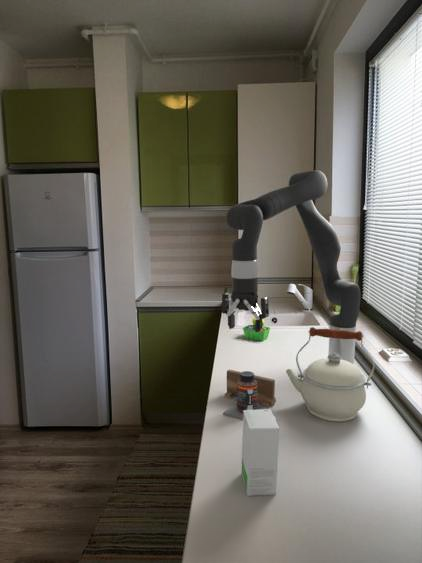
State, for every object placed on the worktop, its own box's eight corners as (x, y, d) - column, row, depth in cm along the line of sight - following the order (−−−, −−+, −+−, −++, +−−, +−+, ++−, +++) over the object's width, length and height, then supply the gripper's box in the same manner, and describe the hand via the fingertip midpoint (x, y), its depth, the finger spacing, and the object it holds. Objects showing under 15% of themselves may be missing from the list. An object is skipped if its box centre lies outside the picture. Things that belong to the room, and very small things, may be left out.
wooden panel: (232, 390, 140) (232, 367, 139) (277, 401, 132) (277, 377, 130) (223, 396, 135) (223, 373, 134) (269, 409, 127) (269, 384, 125)
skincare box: (241, 473, 96) (241, 408, 94) (269, 471, 97) (271, 407, 94) (247, 497, 88) (248, 428, 85) (278, 495, 89) (280, 426, 86)
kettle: (370, 402, 131) (375, 324, 127) (372, 431, 114) (377, 342, 110) (289, 391, 139) (291, 317, 135) (279, 417, 122) (281, 333, 118)
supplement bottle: (255, 415, 122) (256, 378, 120) (235, 413, 123) (235, 376, 121) (257, 406, 128) (258, 370, 126) (238, 404, 129) (238, 369, 127)
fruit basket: (241, 338, 196) (241, 315, 194) (250, 334, 204) (250, 311, 202) (264, 342, 190) (264, 318, 188) (272, 337, 198) (272, 314, 196)
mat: (239, 401, 132) (239, 399, 132) (269, 409, 127) (269, 407, 127) (223, 414, 124) (223, 412, 124) (253, 423, 118) (253, 421, 118)
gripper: (272, 275, 121) (272, 329, 124) (229, 271, 129) (229, 323, 132) (261, 279, 115) (261, 336, 118) (216, 275, 123) (217, 329, 125)
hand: (244, 329), depth 125 cm, fingers open, 8 cm apart
